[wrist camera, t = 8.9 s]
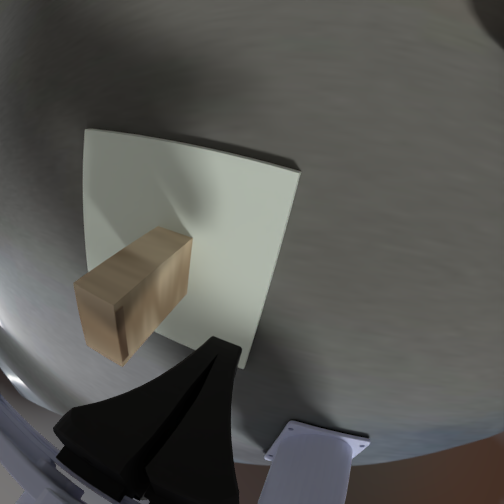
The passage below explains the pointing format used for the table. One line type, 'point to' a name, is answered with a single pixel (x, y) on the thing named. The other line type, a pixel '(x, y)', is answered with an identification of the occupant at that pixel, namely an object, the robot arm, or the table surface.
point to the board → (192, 224)
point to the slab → (133, 292)
